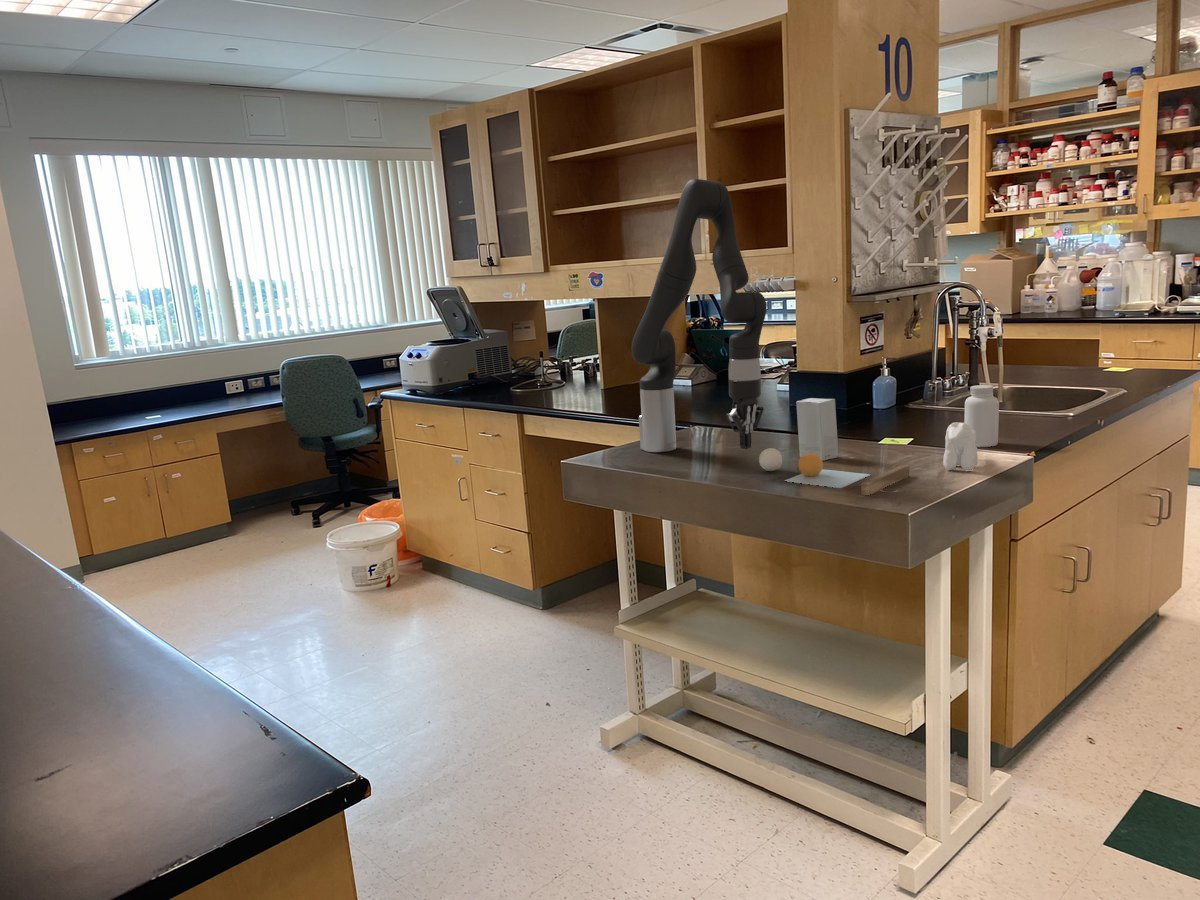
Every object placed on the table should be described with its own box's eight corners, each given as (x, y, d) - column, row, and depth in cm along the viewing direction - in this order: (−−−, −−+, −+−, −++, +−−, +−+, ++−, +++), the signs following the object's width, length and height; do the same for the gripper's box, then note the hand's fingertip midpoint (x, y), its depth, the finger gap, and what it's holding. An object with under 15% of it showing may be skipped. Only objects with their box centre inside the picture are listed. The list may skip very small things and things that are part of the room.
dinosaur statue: (933, 474, 191) (935, 424, 190) (960, 462, 211) (961, 417, 210) (966, 476, 187) (968, 425, 186) (990, 464, 207) (992, 418, 206)
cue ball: (772, 445, 205) (779, 467, 204) (782, 444, 209) (789, 466, 208) (752, 452, 208) (759, 474, 207) (762, 452, 212) (769, 473, 211)
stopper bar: (861, 495, 181) (861, 483, 181) (902, 475, 196) (902, 464, 195) (868, 495, 180) (868, 484, 180) (909, 476, 195) (909, 465, 194)
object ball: (800, 450, 198) (819, 464, 195) (812, 446, 202) (831, 459, 199) (790, 469, 201) (808, 483, 198) (802, 465, 204) (820, 478, 202)
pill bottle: (964, 447, 220) (965, 388, 217) (964, 441, 227) (964, 384, 224) (998, 448, 217) (1000, 388, 214) (997, 441, 224) (998, 383, 221)
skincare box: (838, 457, 218) (838, 399, 215) (822, 461, 215) (821, 402, 212) (813, 453, 225) (812, 396, 222) (796, 457, 222) (795, 399, 219)
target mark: (784, 481, 197) (784, 480, 197) (815, 469, 207) (815, 468, 207) (840, 488, 188) (840, 487, 188) (870, 475, 198) (870, 474, 198)
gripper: (747, 373, 214) (748, 441, 218) (715, 379, 205) (716, 451, 209) (773, 374, 209) (773, 445, 213) (741, 381, 200) (742, 455, 204)
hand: (745, 448), depth 211 cm, fingers closed
